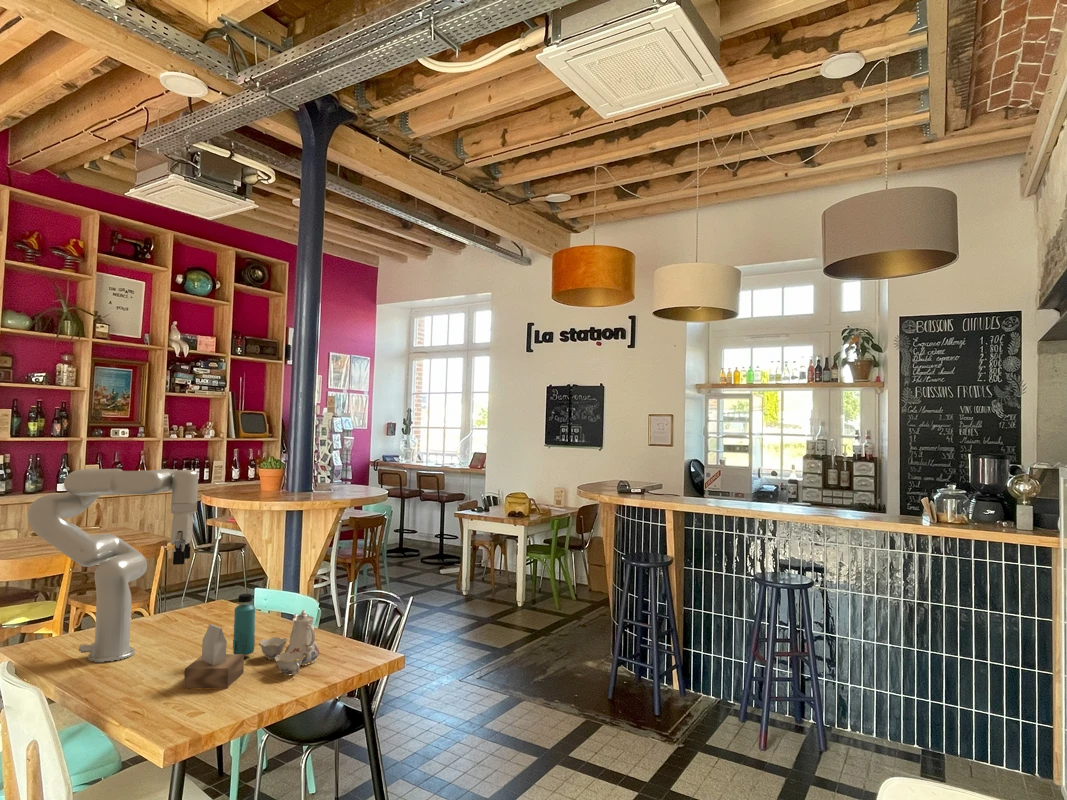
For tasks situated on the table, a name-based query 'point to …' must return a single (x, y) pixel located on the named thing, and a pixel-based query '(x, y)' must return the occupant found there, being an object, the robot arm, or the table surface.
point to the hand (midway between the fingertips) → (181, 561)
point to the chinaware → (293, 646)
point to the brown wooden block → (214, 672)
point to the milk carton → (214, 646)
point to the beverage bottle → (244, 626)
